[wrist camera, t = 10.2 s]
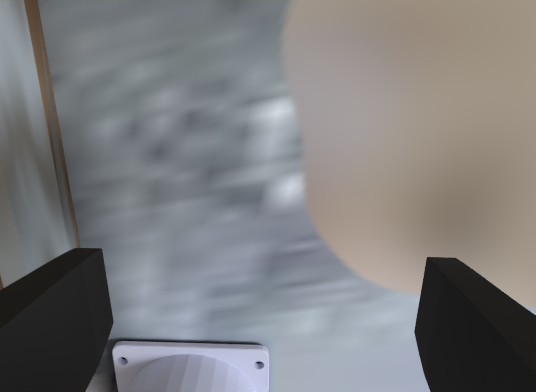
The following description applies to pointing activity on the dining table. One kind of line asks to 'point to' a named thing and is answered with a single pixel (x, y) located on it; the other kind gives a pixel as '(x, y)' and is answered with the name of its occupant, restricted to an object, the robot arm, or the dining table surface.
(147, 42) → the dining table surface
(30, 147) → the grey brown open tray
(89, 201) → the dining table surface
